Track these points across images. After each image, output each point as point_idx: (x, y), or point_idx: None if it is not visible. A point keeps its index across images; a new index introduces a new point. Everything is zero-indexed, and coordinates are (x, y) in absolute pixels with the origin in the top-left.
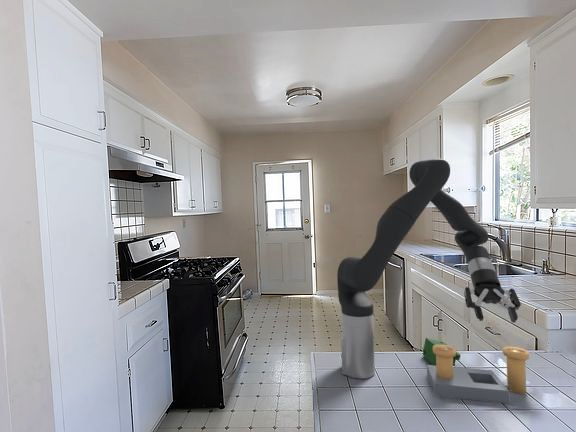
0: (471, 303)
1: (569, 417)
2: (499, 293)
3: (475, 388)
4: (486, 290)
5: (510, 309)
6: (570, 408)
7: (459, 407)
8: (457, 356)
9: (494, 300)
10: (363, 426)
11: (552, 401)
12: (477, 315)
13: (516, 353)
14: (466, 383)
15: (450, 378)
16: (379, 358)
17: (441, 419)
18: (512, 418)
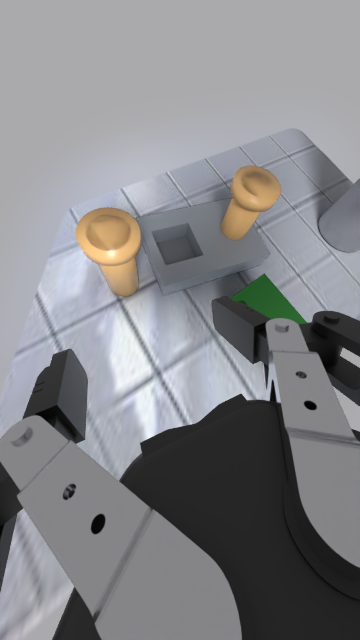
0: (314, 315)
1: (60, 231)
2: (110, 569)
3: (184, 208)
4: (339, 504)
5: (60, 394)
6: (49, 258)
7: (197, 198)
8: (233, 296)
9: (178, 434)
10: (268, 137)
11: (72, 268)
12: (240, 304)
13: (109, 213)
14: (198, 215)
15: (222, 220)
16: (348, 292)
17: (209, 169)
18: (136, 199)
